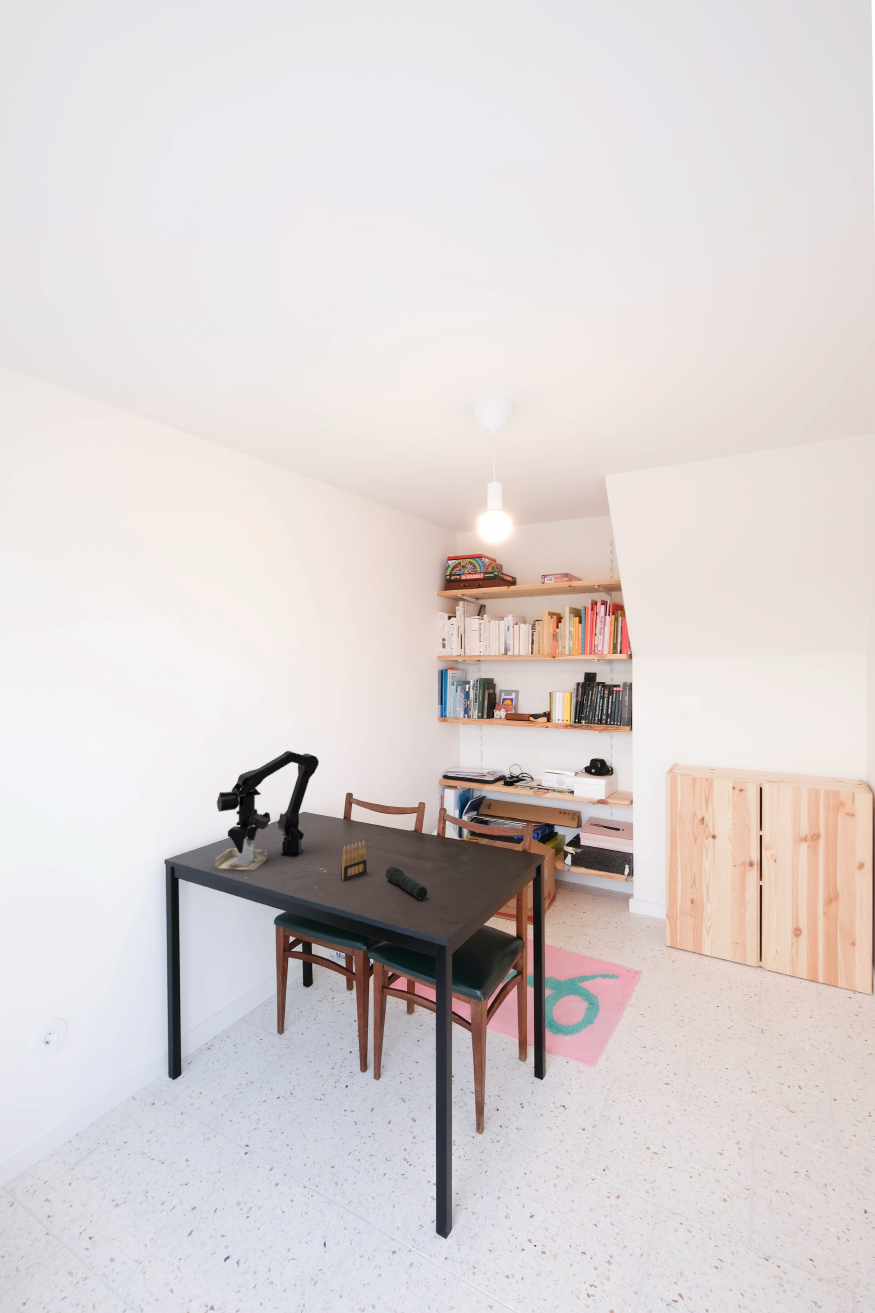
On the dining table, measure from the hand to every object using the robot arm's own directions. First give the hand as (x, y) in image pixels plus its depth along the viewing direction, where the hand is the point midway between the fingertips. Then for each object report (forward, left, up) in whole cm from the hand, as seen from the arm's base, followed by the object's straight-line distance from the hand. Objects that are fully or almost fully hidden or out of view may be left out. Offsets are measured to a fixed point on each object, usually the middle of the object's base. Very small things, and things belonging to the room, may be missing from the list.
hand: (246, 849), depth 220 cm
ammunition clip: (-43, +8, -5) cm, 44 cm away
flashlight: (-64, +16, -6) cm, 66 cm away
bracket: (0, +2, -4) cm, 5 cm away
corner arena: (+1, +2, -5) cm, 5 cm away
